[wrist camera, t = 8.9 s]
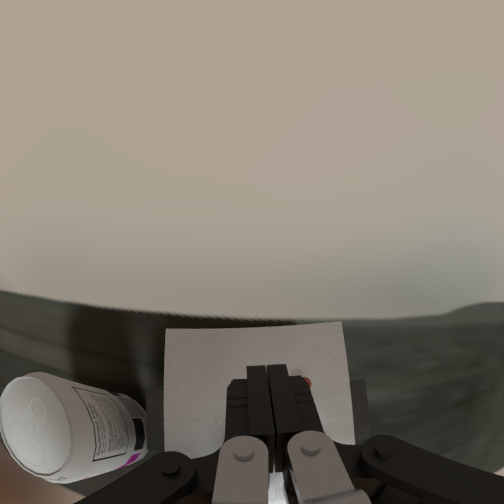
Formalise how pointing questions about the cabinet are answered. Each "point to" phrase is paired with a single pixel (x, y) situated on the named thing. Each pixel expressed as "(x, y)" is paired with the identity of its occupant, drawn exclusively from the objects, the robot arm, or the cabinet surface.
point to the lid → (234, 367)
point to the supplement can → (70, 428)
